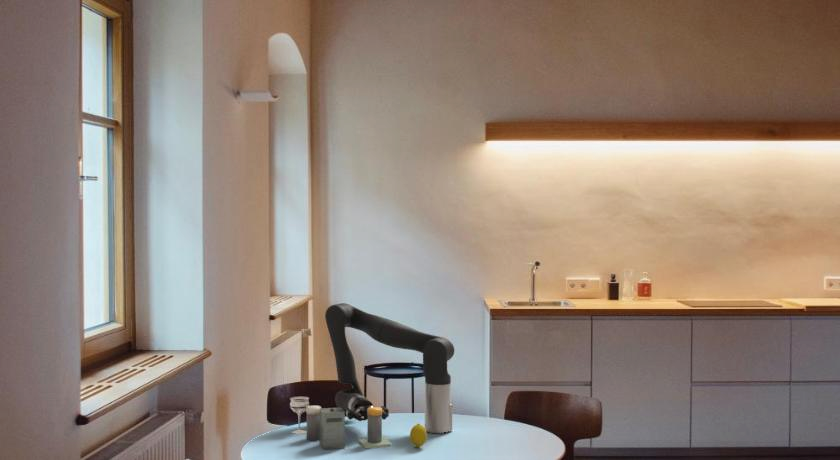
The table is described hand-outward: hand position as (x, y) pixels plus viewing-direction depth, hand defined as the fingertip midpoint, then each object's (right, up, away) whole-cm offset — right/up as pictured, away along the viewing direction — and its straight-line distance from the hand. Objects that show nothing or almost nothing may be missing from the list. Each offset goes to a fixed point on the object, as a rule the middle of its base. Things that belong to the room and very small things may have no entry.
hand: (372, 417), depth 266 cm
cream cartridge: (-21, -8, +3) cm, 22 cm away
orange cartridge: (+1, -7, -3) cm, 8 cm away
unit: (-13, -8, -7) cm, 17 cm away
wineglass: (-27, -8, +12) cm, 31 cm away
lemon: (+15, -9, -7) cm, 19 cm away
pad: (+1, -8, -3) cm, 9 cm away
